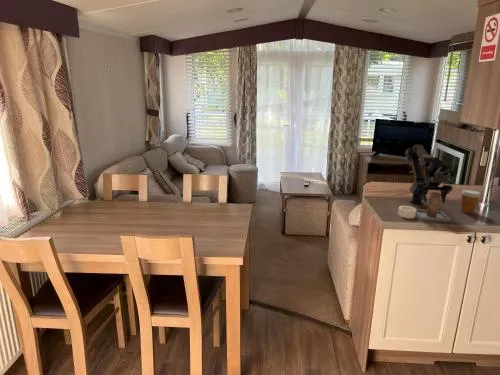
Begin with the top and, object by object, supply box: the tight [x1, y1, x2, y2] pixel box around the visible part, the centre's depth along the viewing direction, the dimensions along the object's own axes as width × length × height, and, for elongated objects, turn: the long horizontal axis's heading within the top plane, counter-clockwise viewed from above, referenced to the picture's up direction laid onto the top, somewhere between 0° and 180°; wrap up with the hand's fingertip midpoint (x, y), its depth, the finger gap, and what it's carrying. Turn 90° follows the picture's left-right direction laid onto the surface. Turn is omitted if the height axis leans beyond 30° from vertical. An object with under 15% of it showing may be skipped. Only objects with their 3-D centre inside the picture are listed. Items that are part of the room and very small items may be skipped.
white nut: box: [397, 205, 418, 219], centre depth 203 cm, size 8×8×4 cm
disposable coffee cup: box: [460, 188, 481, 214], centre depth 212 cm, size 10×10×12 cm
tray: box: [415, 208, 451, 223], centre depth 203 cm, size 12×15×2 cm
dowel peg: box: [426, 192, 441, 217], centre depth 201 cm, size 5×5×12 cm
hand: (434, 202), depth 199 cm, fingers open, 9 cm apart
